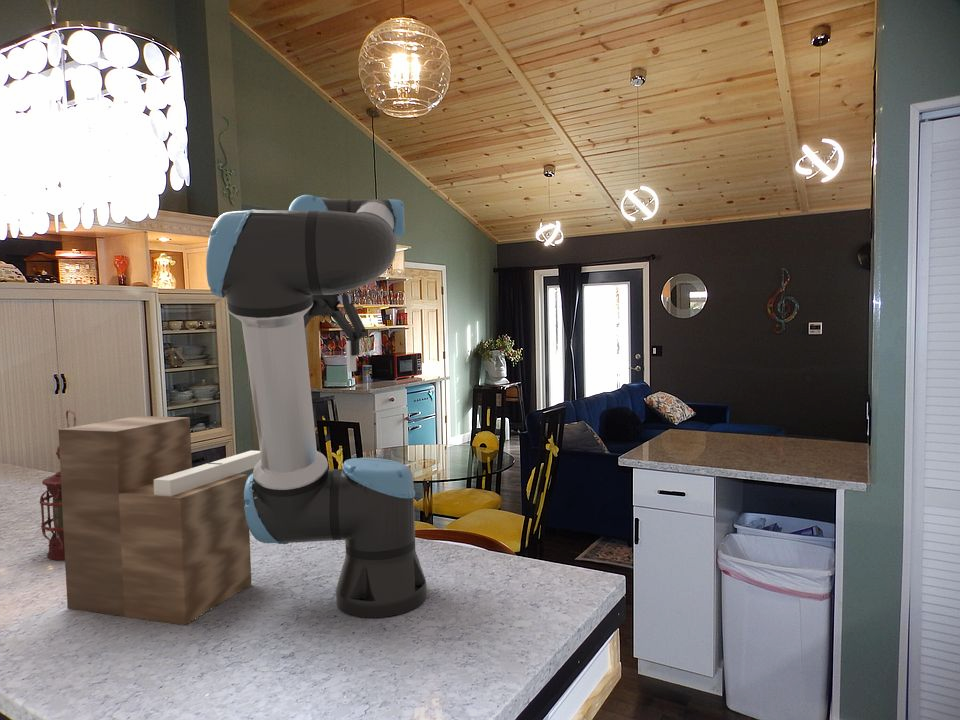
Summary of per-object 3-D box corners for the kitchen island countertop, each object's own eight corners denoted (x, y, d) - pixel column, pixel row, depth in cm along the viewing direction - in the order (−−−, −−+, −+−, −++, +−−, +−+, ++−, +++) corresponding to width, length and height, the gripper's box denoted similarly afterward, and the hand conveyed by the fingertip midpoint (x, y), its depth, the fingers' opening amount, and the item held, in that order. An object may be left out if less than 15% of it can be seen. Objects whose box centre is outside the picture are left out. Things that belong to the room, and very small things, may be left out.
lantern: (118, 550, 131) (111, 409, 130) (48, 567, 123) (40, 415, 121) (102, 537, 140) (96, 404, 138) (37, 552, 131) (29, 410, 130)
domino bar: (251, 463, 121) (251, 449, 121) (265, 463, 120) (265, 450, 120) (154, 495, 98) (153, 478, 98) (170, 496, 97) (170, 479, 97)
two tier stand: (144, 571, 119) (137, 416, 118) (251, 584, 112) (245, 418, 111) (67, 608, 104) (58, 429, 102) (185, 625, 97) (177, 433, 95)
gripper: (381, 271, 133) (383, 370, 134) (280, 276, 141) (283, 370, 142) (364, 268, 126) (367, 372, 127) (259, 273, 133) (263, 372, 134)
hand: (323, 371), depth 134 cm, fingers open, 13 cm apart
